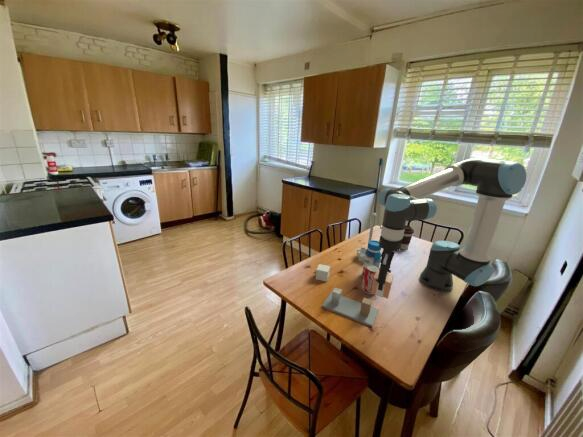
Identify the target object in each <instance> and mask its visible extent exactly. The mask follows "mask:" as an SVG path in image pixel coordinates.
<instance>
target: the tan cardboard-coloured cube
mask: <svg viewBox="0 0 583 437" xmlns="http://www.w3.org/2000/svg"><path fill="white" fill-rule="evenodd" d="M378 276H379V271H378V270H377V272H376V274H375V276H374V279H373V285H372V291H371V293H372V294H371V295H375V294H376V288H377V281H376V279H378ZM393 280H394V274H393V273H389V272H387V276H386V283H385V288H384V294H383V298H385V299H389V296H390V293H391V290H392V284H393Z"/></svg>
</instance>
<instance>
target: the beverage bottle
mask: <svg viewBox="0 0 583 437" xmlns="http://www.w3.org/2000/svg"><path fill="white" fill-rule="evenodd" d="M368 241H369V240H368ZM367 247H368V249H367V250H366V252H365V257H364V263H363V267H362V271H361V276H362V278H364V273H365V268H366V267H367V265H376V266H378V267H379V268H380V265H381V258H382V256H381V255H382V251H381V250H382V248H381V247H380V246H379V240H375V239H373V240H372V239H371V241H369V242H367Z"/></svg>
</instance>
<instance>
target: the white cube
mask: <svg viewBox="0 0 583 437" xmlns="http://www.w3.org/2000/svg"><path fill="white" fill-rule="evenodd" d="M330 273H331V266H330V265H326V264H322V263H321V264H320V263H319V264H318V265H317V268H316V270H315V280H317V281H322V282H325V283H327V282H328V281H329V280H328V279H329V277H330Z"/></svg>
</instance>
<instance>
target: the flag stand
mask: <svg viewBox="0 0 583 437" xmlns="http://www.w3.org/2000/svg"><path fill="white" fill-rule="evenodd" d="M370 217H371V221H370V222H371V223H370V228H369V229H370V230H369V235H368V242H369V241H371V240H372V239H373V231H374V225H375V221H376V217H377V213H376V212H372V213H371V214H370ZM368 242H367V243H368ZM367 249H368V246H367V248H366V246H360V247H358V248H357V249H356V256H357V259H358V261H359V262H360V263H362V264H364V257H365V252H366V250H367Z"/></svg>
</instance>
